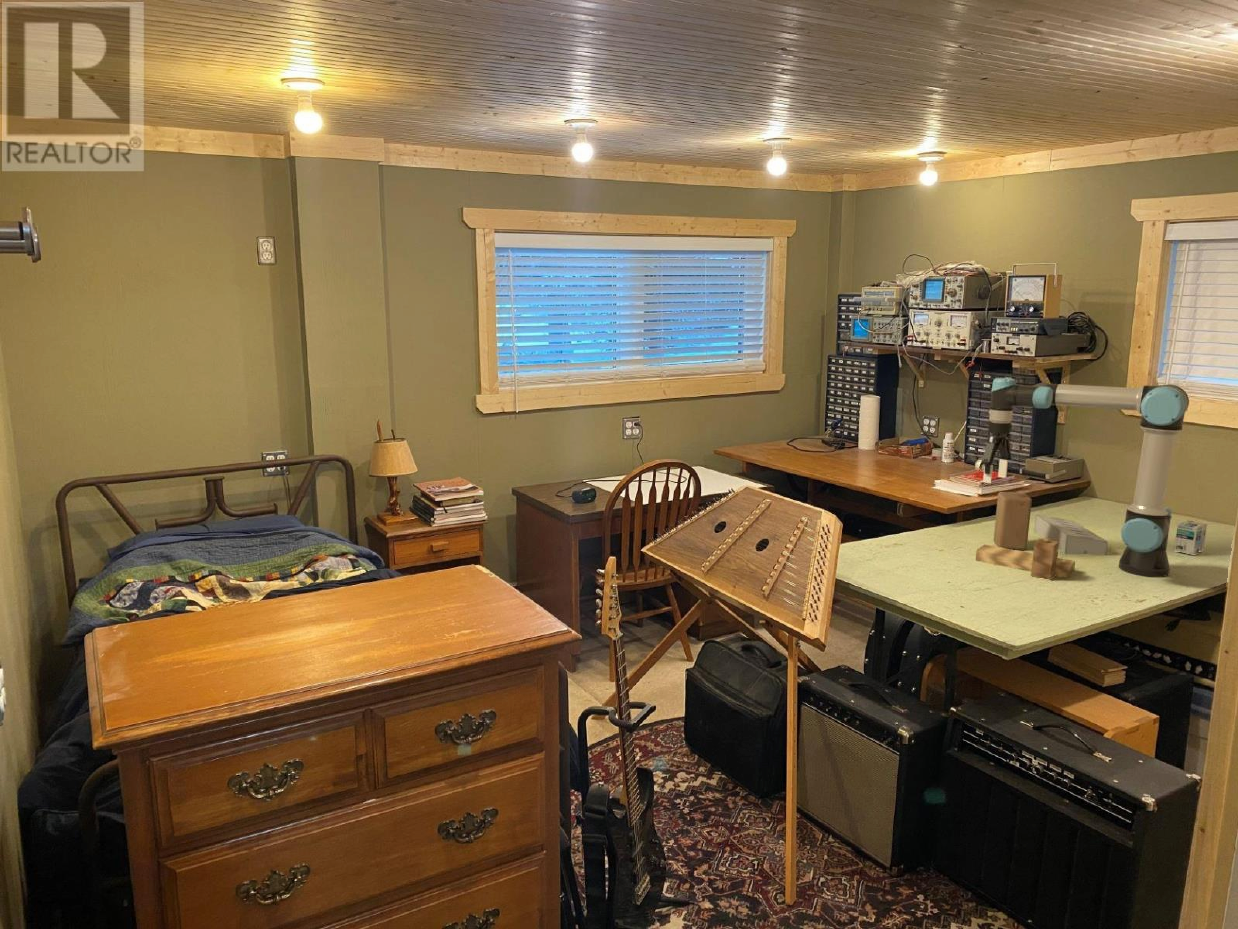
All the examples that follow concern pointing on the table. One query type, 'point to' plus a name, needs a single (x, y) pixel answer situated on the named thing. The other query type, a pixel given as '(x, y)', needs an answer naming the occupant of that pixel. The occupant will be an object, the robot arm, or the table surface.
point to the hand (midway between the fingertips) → (994, 480)
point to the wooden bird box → (1044, 558)
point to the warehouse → (1070, 536)
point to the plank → (1019, 559)
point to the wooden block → (1012, 520)
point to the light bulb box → (1190, 537)
